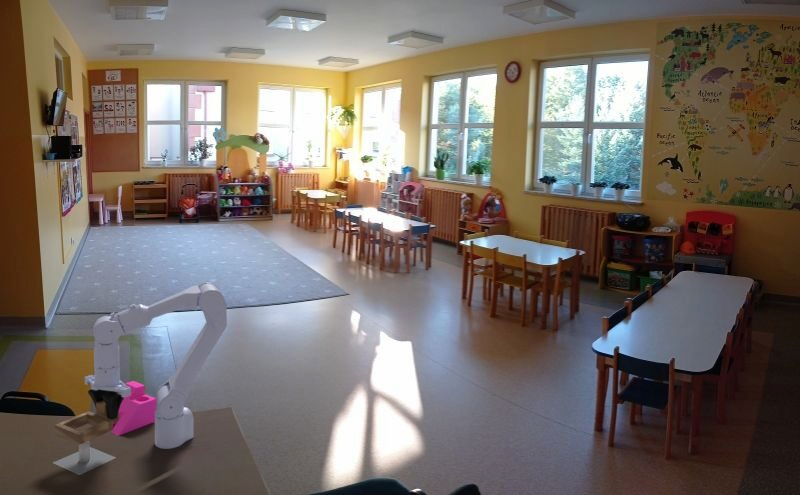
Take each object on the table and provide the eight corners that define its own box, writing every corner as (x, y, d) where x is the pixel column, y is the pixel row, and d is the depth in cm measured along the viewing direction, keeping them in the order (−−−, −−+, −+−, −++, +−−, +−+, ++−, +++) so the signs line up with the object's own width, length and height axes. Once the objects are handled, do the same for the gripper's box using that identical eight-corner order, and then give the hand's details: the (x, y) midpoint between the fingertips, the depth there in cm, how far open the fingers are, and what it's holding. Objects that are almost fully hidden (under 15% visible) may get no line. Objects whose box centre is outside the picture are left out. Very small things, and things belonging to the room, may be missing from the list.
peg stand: (89, 450, 160) (89, 430, 159) (116, 461, 156) (116, 440, 155) (52, 466, 151) (51, 445, 151) (79, 479, 147) (79, 456, 146)
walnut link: (102, 414, 162) (102, 394, 161) (127, 423, 158) (126, 402, 157) (55, 434, 150) (53, 413, 149) (79, 444, 146) (78, 422, 145)
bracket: (133, 414, 182) (133, 380, 181) (156, 424, 177) (156, 389, 175) (94, 429, 172) (93, 393, 171) (117, 440, 167) (117, 403, 165)
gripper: (73, 363, 155) (74, 415, 158) (112, 376, 149) (113, 430, 151) (98, 356, 162) (99, 406, 164) (137, 368, 155) (138, 420, 157)
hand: (107, 417), depth 158 cm, fingers closed on walnut link, 3 cm apart
